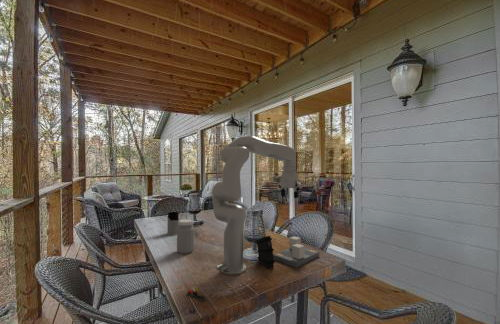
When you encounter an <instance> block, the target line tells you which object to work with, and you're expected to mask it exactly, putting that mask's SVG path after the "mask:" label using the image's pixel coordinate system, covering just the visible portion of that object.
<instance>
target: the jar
mask: <svg viewBox="0 0 500 324" xmlns="http://www.w3.org/2000/svg"><path fill="white" fill-rule="evenodd" d="M178 224H179V226H178V227H179V228H178V229H177V235H176V251H177V252H178V253H179V254H182V255H186V254H187V255H188V254H191V253H193V252H194V250H195V227H194V220H193V219H190V218H187V219H186V218H185V219H184V218H183V219H181V220H180V219H179V221H178Z"/></svg>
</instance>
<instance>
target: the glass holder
mask: <svg viewBox="0 0 500 324" xmlns="http://www.w3.org/2000/svg"><path fill="white" fill-rule="evenodd" d="M183 215H185V216H186V217H185V219H188V216H187V214H186V213H182V214H181V215H180V214H179V212H178V211H171V212H168V213H167V232H166V236H177V229H178V228H179V227H178V226H179V224H178V221H179V220H182V216H183ZM179 216H180V219H179Z"/></svg>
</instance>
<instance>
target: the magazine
mask: <svg viewBox="0 0 500 324" xmlns="http://www.w3.org/2000/svg"><path fill="white" fill-rule="evenodd" d="M256 240H257V241H256V242H255V245H257V251H256V253H257V255H258V257H257V258H256V259H258V262H259V263H260V264H261V265H262V266H263V267H265V268H266V269H268V270H271V269H274V268H275V267H274V264H275V263H276V262H275V261H276V260H274V259H273V255H274V251H275V250H274V248H273V244H272V243H273V242H272V240H273V239H272V237H271V235H267V236H263V237H260V238H259V239H256Z"/></svg>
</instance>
